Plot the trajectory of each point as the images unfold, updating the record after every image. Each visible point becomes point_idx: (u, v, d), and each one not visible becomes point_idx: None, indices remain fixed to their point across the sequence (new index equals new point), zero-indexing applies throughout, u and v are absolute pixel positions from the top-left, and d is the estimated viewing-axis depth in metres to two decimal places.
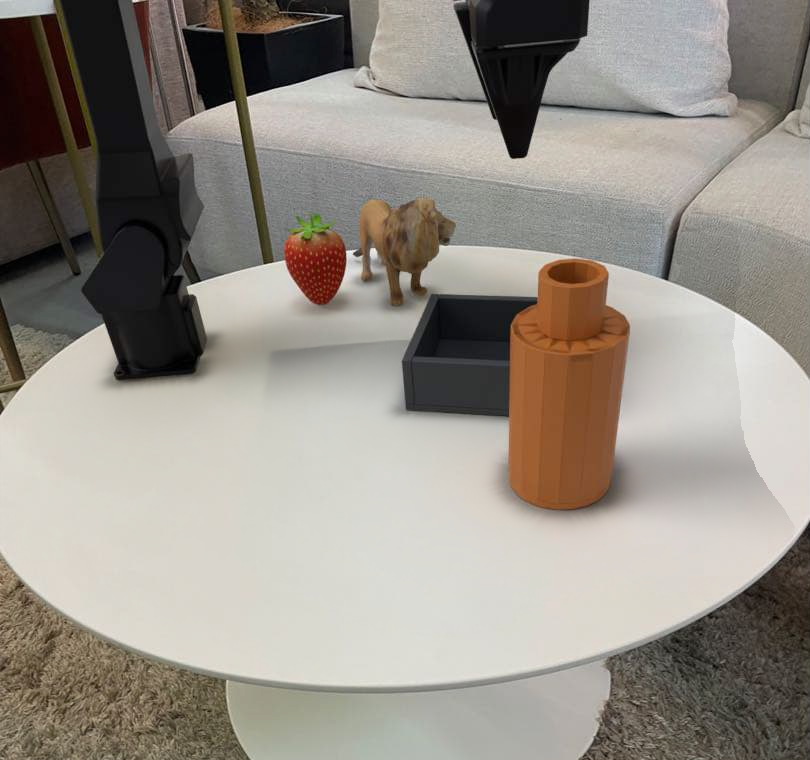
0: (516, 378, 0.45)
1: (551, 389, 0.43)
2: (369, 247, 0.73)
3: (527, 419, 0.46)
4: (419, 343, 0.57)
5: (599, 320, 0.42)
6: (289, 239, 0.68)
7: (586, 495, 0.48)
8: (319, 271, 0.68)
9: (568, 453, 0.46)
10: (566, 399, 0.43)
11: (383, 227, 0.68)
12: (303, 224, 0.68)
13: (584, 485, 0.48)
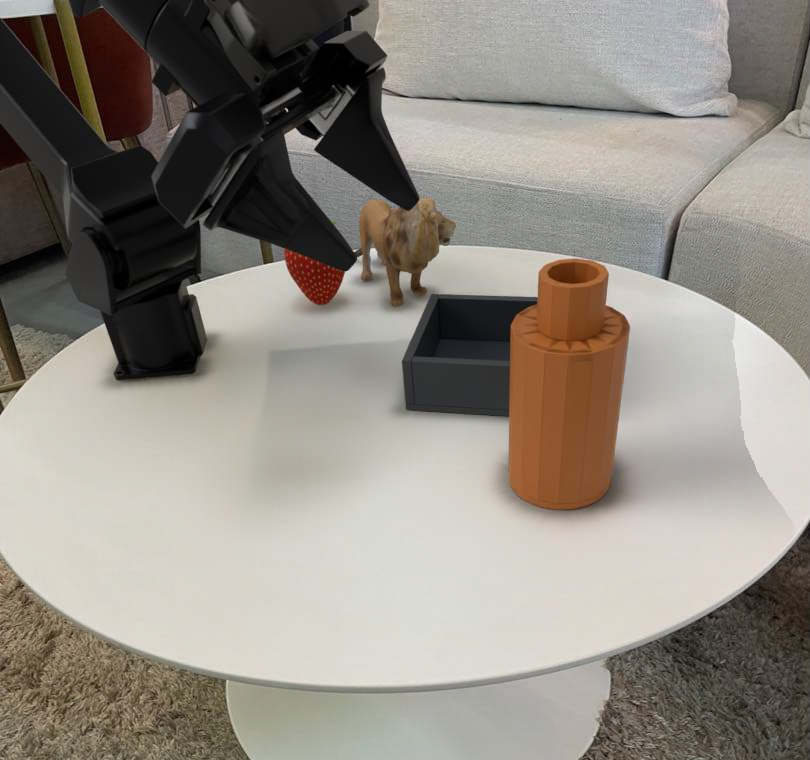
0: (516, 378, 0.45)
1: (551, 389, 0.43)
2: (369, 247, 0.73)
3: (527, 419, 0.46)
4: (419, 343, 0.57)
5: (599, 320, 0.42)
6: None
7: (586, 495, 0.48)
8: (319, 271, 0.68)
9: (568, 453, 0.46)
10: (566, 399, 0.43)
11: (383, 227, 0.68)
12: None
13: (584, 485, 0.48)
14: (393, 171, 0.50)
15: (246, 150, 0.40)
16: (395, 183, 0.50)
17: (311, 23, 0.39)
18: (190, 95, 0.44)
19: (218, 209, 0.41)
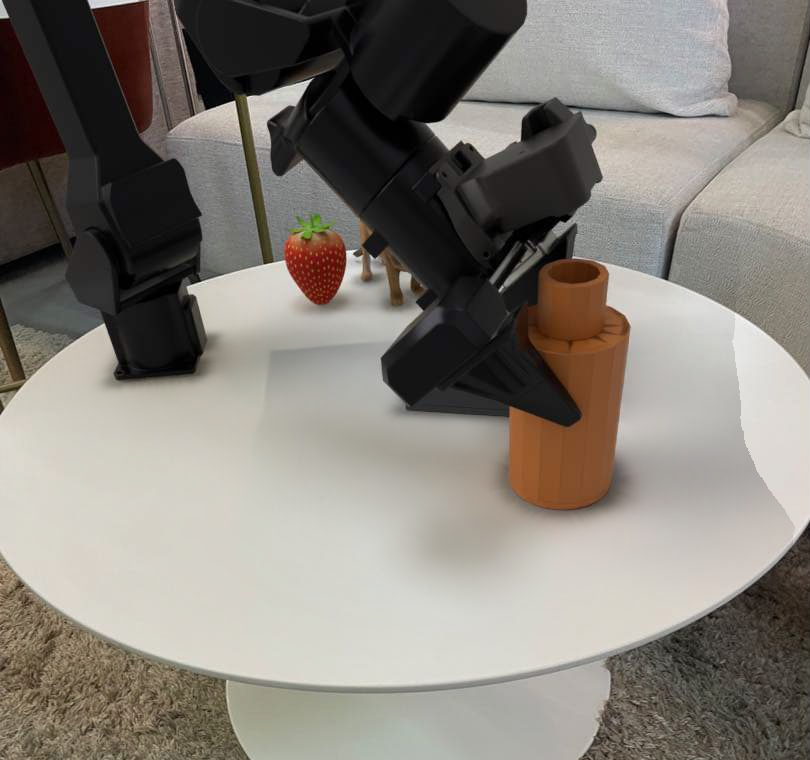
0: None
1: None
2: None
3: (527, 419, 0.46)
4: None
5: (599, 320, 0.42)
6: (289, 239, 0.68)
7: (586, 495, 0.48)
8: (319, 271, 0.68)
9: (568, 453, 0.46)
10: None
11: None
12: (303, 224, 0.68)
13: (584, 485, 0.48)
14: None
15: None
16: None
17: (556, 206, 0.38)
18: (403, 260, 0.43)
19: (455, 376, 0.41)
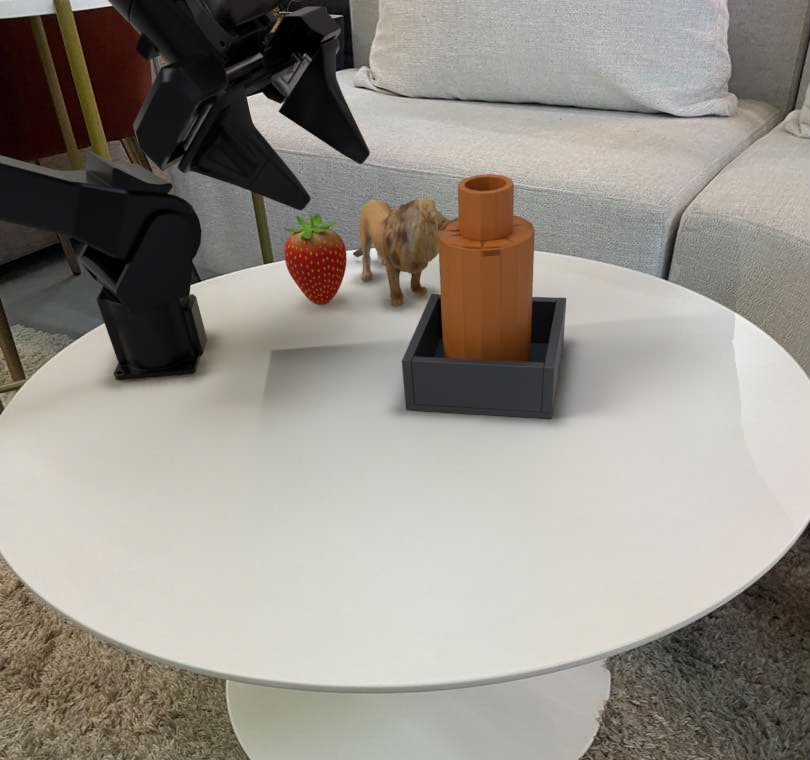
0: (443, 275, 0.54)
1: (469, 281, 0.53)
2: (369, 247, 0.73)
3: (453, 311, 0.55)
4: (419, 343, 0.57)
5: (507, 223, 0.52)
6: (289, 239, 0.68)
7: None
8: (319, 271, 0.68)
9: (486, 339, 0.55)
10: (481, 290, 0.53)
11: (383, 227, 0.68)
12: (303, 224, 0.68)
13: None
14: (346, 128, 0.57)
15: (212, 101, 0.47)
16: (348, 139, 0.58)
17: None
18: (167, 59, 0.52)
19: (190, 153, 0.49)
